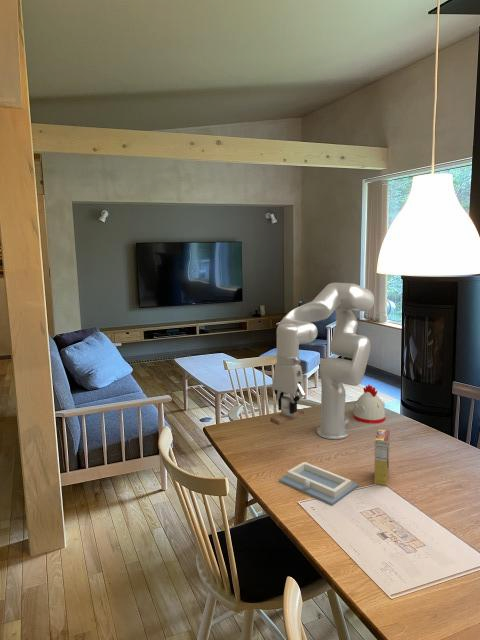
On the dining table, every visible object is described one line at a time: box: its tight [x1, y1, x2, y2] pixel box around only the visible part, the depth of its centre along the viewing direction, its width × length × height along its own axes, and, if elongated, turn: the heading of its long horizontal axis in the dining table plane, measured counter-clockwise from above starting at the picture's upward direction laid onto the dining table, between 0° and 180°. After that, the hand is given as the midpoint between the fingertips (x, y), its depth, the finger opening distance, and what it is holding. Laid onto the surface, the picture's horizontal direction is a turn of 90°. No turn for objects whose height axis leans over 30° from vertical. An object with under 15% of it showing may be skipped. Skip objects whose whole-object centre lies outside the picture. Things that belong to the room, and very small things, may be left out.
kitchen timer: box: [352, 384, 386, 425], centre depth 202 cm, size 14×14×15 cm
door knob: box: [269, 395, 305, 426], centre depth 159 cm, size 13×4×8 cm, turn 132°
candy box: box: [373, 429, 391, 487], centre depth 149 cm, size 9×4×15 cm, turn 158°
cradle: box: [278, 461, 360, 506], centre depth 147 cm, size 15×20×3 cm
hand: (287, 410), depth 160 cm, fingers closed on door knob, 4 cm apart
